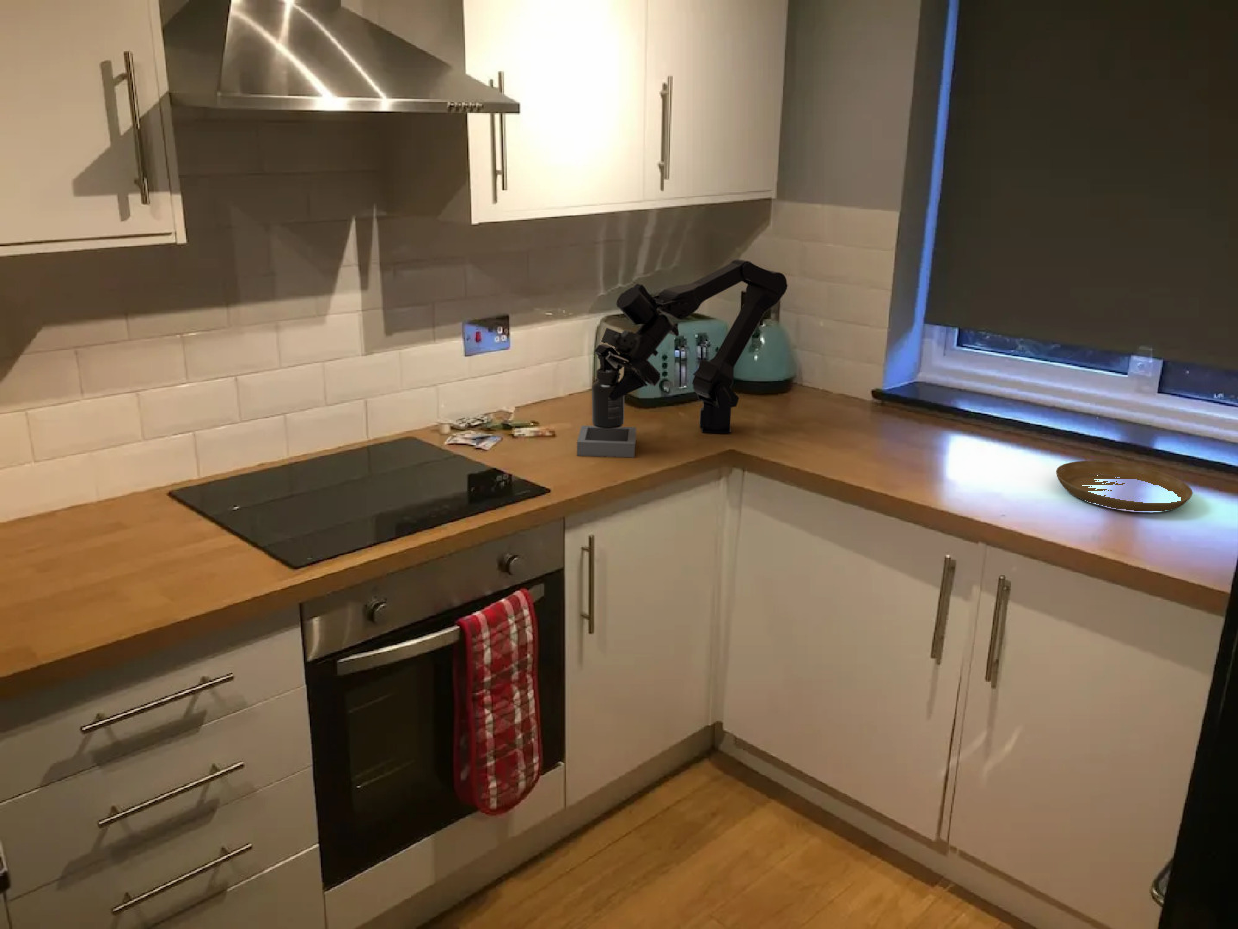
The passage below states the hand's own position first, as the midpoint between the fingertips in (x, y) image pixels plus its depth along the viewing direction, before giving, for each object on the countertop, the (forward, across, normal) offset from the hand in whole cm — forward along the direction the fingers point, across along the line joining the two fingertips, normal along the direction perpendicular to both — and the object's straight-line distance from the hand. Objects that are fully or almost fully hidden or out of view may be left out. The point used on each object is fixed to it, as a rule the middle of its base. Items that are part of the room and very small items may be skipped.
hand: (602, 395), depth 221 cm
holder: (+8, 0, +9) cm, 12 cm away
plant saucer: (-43, +72, +62) cm, 104 cm away
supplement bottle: (+4, 0, +6) cm, 7 cm away
